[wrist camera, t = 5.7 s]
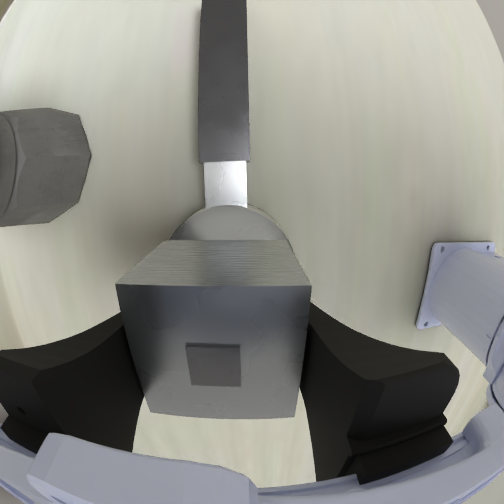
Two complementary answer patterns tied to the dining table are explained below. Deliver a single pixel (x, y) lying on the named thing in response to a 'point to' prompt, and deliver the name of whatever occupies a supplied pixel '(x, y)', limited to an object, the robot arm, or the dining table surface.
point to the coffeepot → (40, 164)
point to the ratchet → (225, 131)
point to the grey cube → (218, 327)
